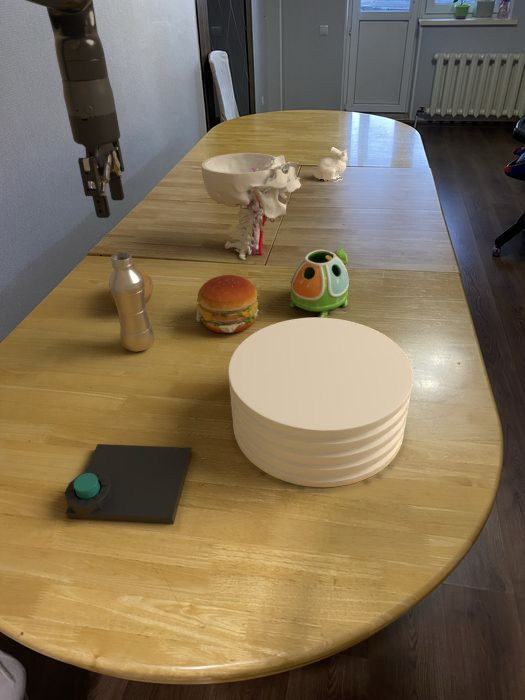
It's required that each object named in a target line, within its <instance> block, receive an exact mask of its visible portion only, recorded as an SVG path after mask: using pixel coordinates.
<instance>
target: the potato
mask: <svg viewBox="0 0 525 700" xmlns="http://www.w3.org/2000/svg"><path fill="white" fill-rule="evenodd" d="M133 267H134V268H135V269H137V270H138V271H139V272H140V273H141V274H142V276H143V278H144V282H145V302H146V304H147V303H148V302H149V301H150V300H151V298H152V295H153V290H154V283H153V280H152V277H151V276H150V275H149V274H148V272H146V271H145V270H144V269H143V268H141V267H140V266H137V265H133ZM108 295H109V296H110V299H111V301H112V303H113V304H115V305H116V303H115V300H114V298H113V295H112V293H111V290H110V289H109V291H108Z"/></svg>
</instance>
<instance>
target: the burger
mask: <svg viewBox="0 0 525 700" xmlns="http://www.w3.org/2000/svg"><path fill="white" fill-rule="evenodd" d="M196 302H197V304H196V308H197V311H196V321H197V322H200V320H201V322H202V323H203V325H204V326H205V327H206V328H207V329H208V330H210V331H213V332H216V333H218V334H219V333H222V334H233V333H240V332H242V331H245V330H247V329H249V328H250V327H251V326H253V324H254V323H255V322H256V320H257V317H258V315H259V314H260V311H259V310H260V305H259V295H258V289H257V288H256V286H255V284H253V283H252V282H251V281H250V280H248V279H246V278H245V277H243V276H239V275H235V274H223V275H218V276H215V277H213V278H210V279H208V280H207V281H205V283H203V284H202V285H201V287H200V288H199V290H198V293H197V298H196Z"/></svg>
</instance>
